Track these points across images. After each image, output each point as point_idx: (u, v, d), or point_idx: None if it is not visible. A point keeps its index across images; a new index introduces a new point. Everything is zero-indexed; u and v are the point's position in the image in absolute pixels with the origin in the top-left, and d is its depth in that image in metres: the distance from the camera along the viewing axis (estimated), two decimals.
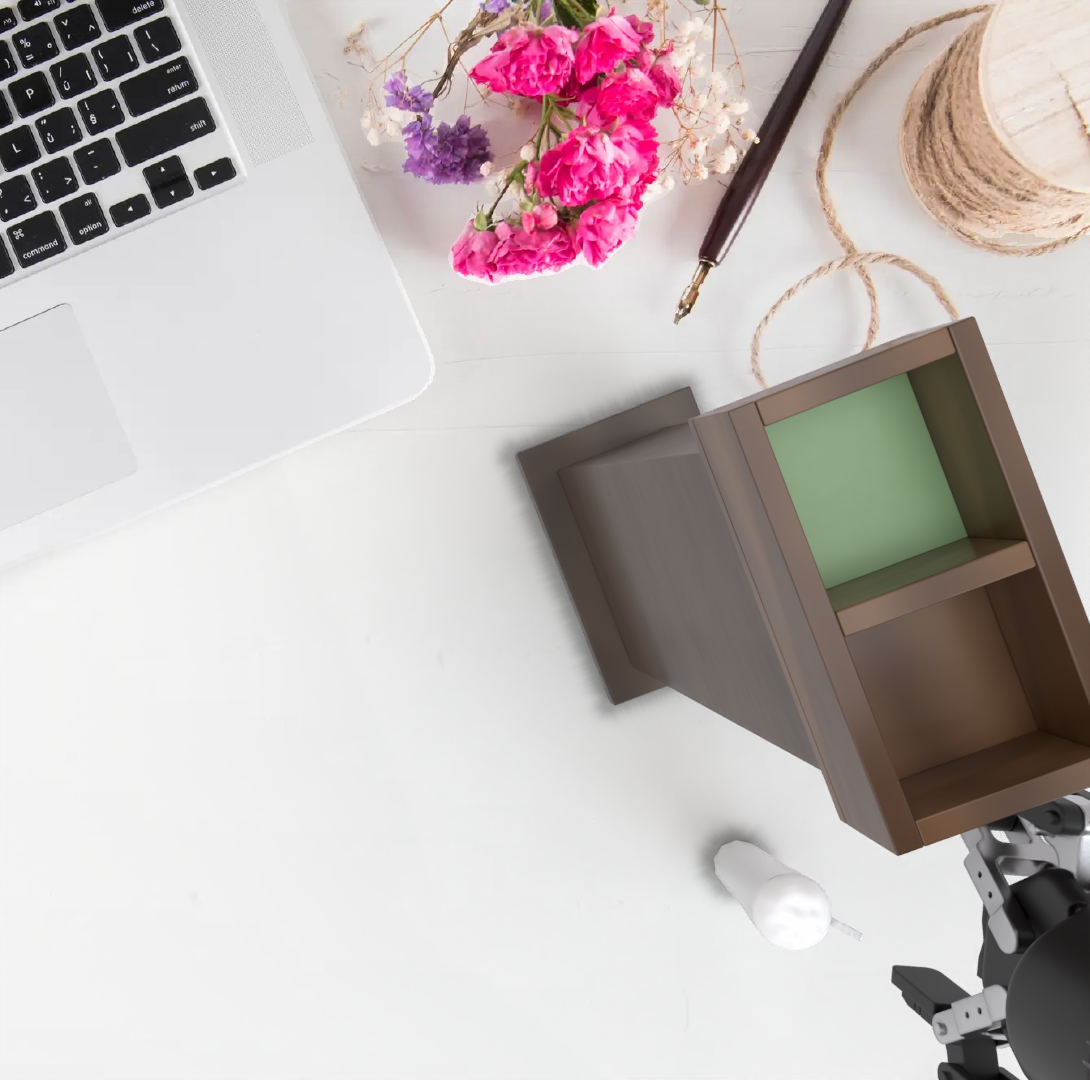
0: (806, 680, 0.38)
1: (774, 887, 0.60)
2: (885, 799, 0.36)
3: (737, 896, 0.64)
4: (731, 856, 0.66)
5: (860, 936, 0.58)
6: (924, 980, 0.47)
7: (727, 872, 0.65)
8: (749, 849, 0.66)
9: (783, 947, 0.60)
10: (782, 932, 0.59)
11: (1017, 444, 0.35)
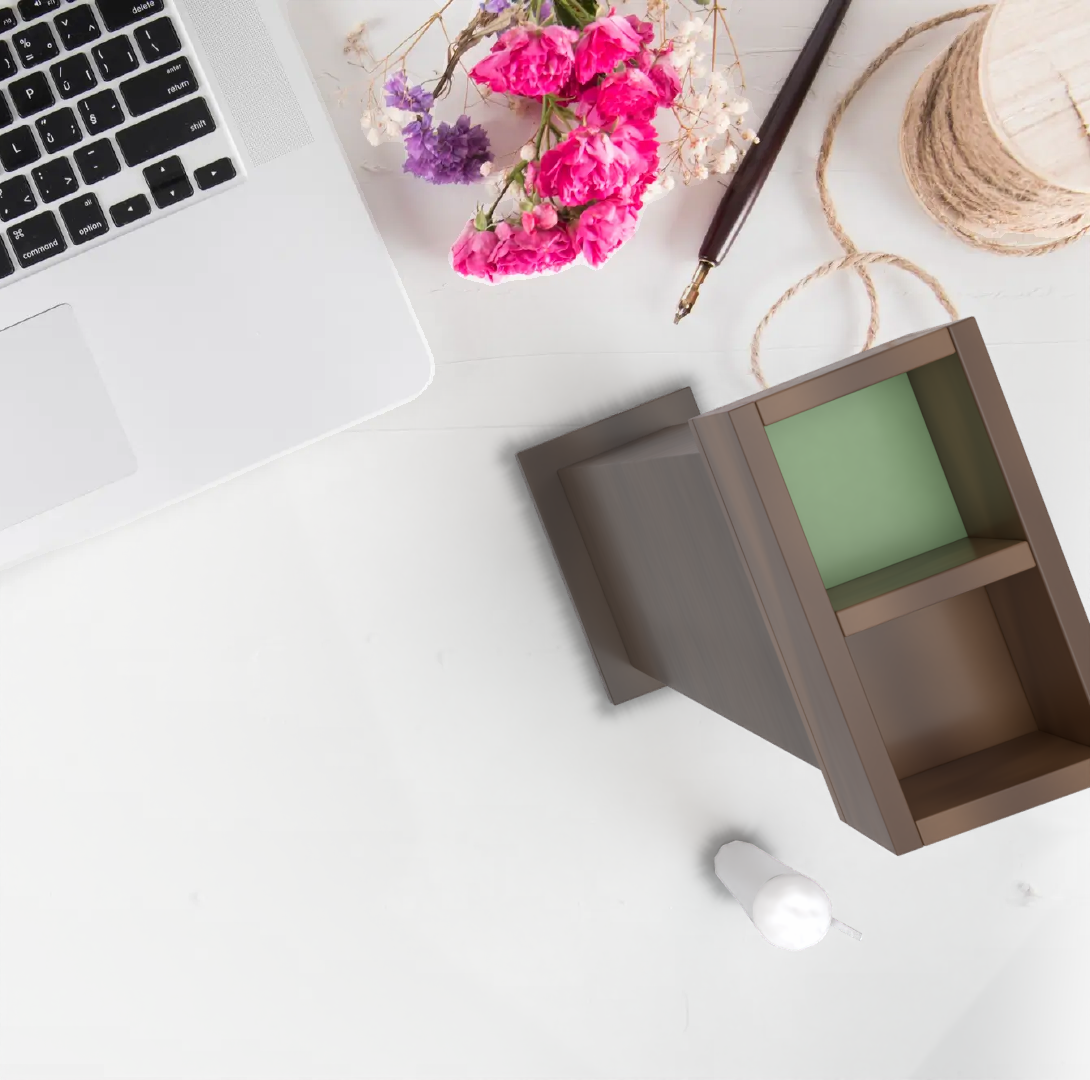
0: (806, 680, 0.38)
1: (774, 887, 0.60)
2: (885, 799, 0.36)
3: (737, 896, 0.64)
4: (731, 856, 0.66)
5: (860, 936, 0.58)
6: None
7: (727, 872, 0.65)
8: (749, 849, 0.66)
9: (783, 947, 0.60)
10: (782, 932, 0.59)
11: (1017, 444, 0.35)
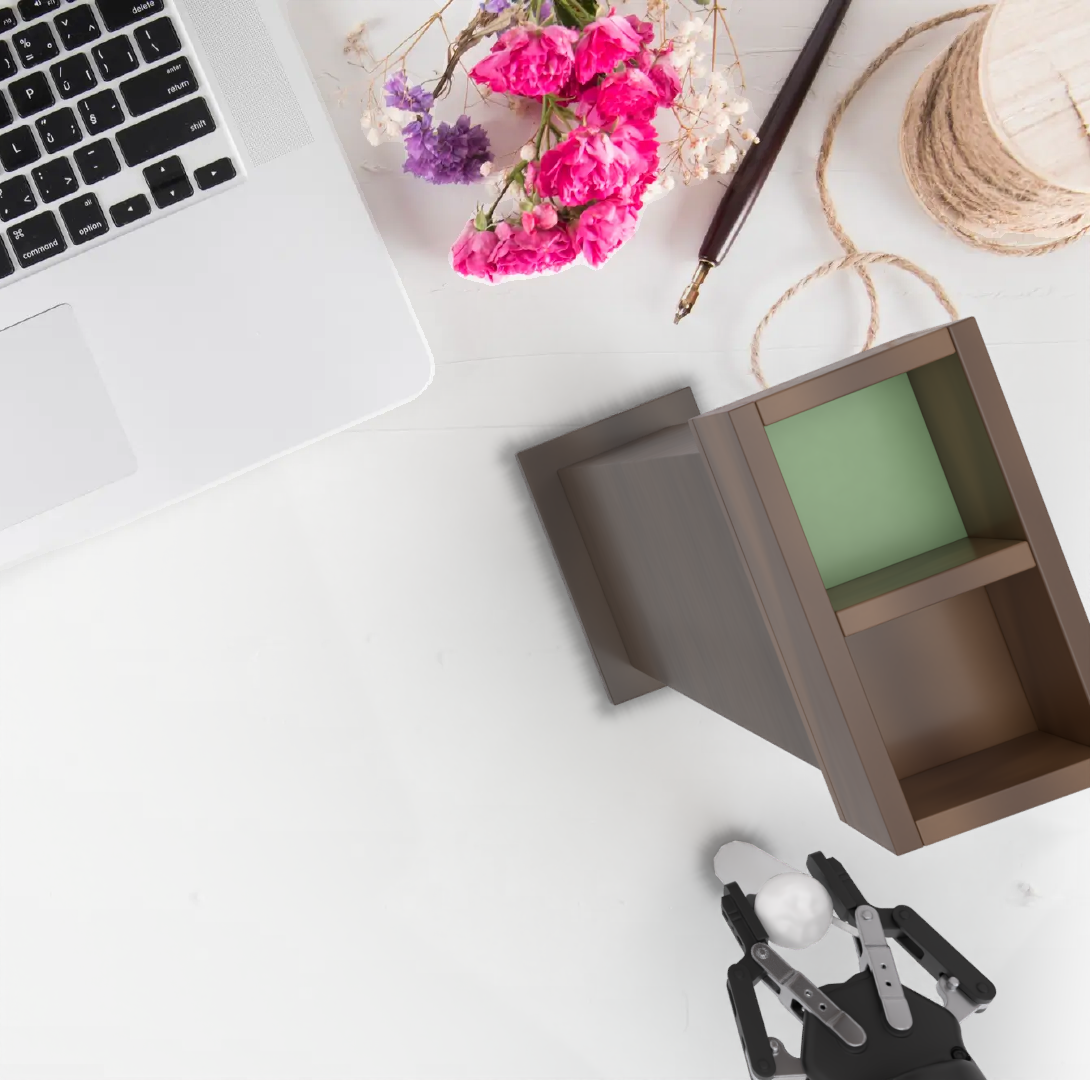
0: (806, 680, 0.38)
1: (775, 886, 0.60)
2: (885, 799, 0.36)
3: None
4: (731, 856, 0.66)
5: None
6: (821, 883, 0.61)
7: (727, 872, 0.65)
8: (749, 849, 0.66)
9: (785, 946, 0.60)
10: (783, 931, 0.59)
11: (1017, 444, 0.35)
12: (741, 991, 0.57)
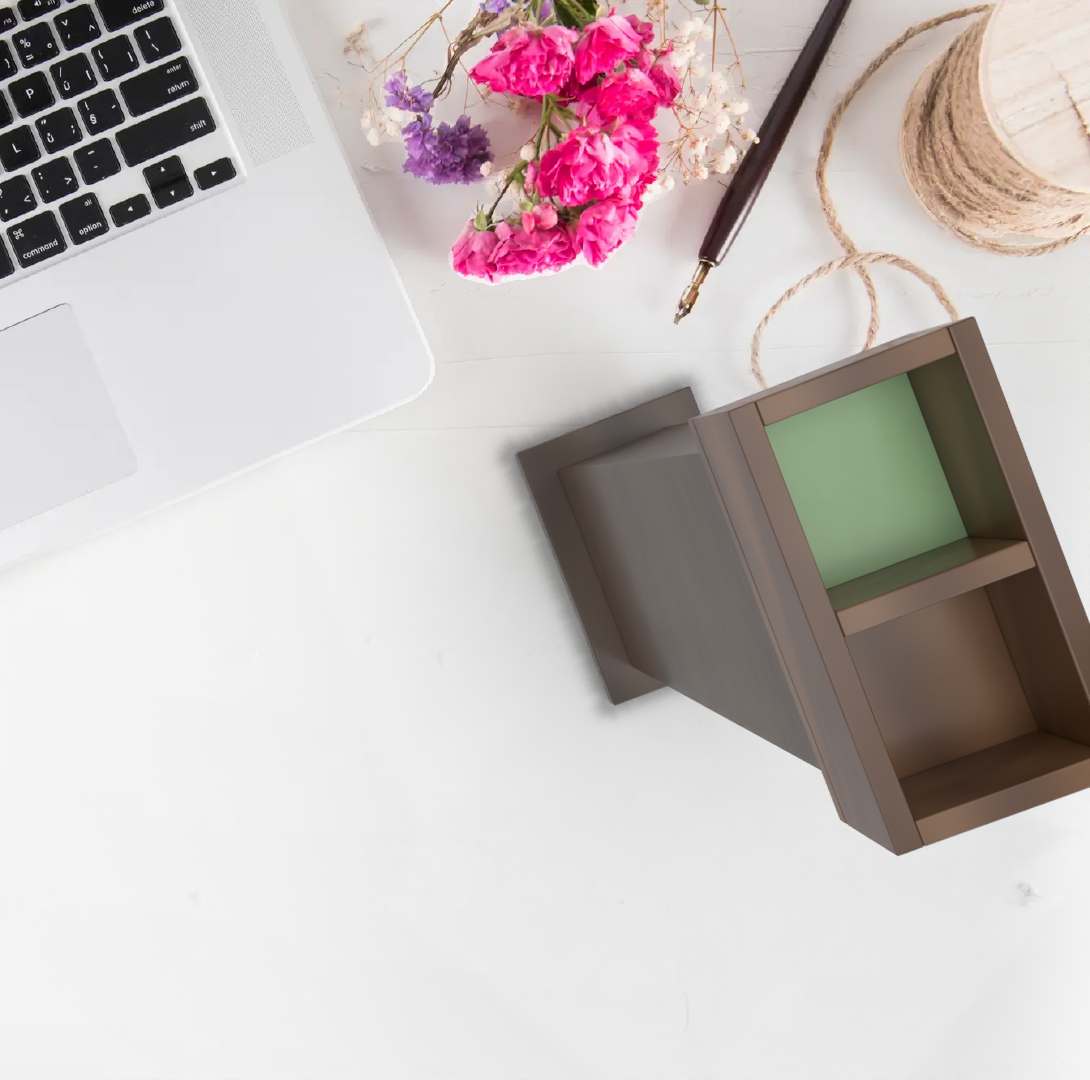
0: (806, 680, 0.38)
1: None
2: (885, 799, 0.36)
3: None
4: None
5: None
6: None
7: None
8: None
9: None
10: None
11: (1017, 444, 0.35)
12: None
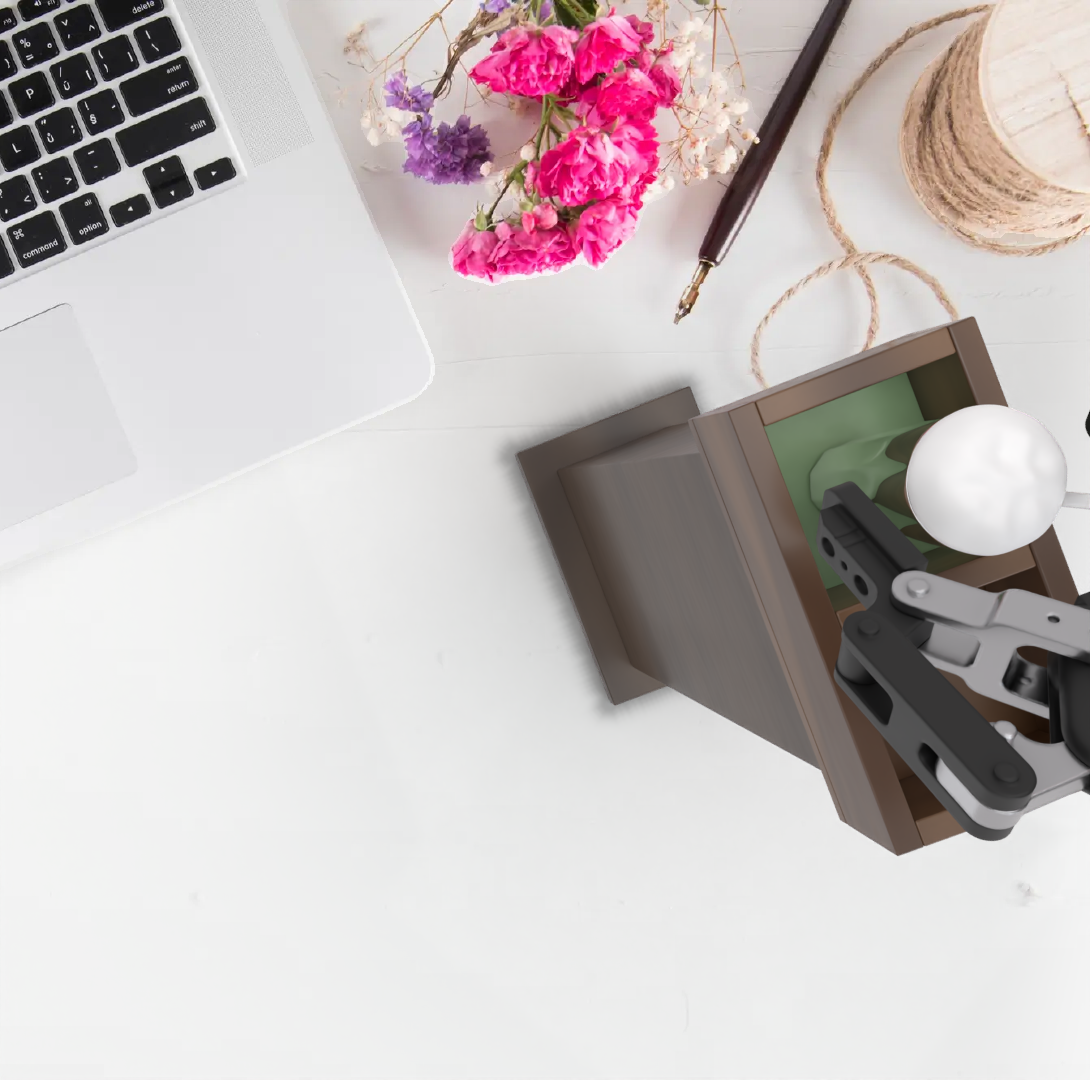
0: (806, 680, 0.38)
1: (957, 424, 0.30)
2: (885, 799, 0.36)
3: (865, 492, 0.34)
4: (848, 448, 0.37)
5: None
6: None
7: (841, 469, 0.36)
8: (882, 433, 0.36)
9: (968, 545, 0.30)
10: (971, 506, 0.30)
11: None
12: (888, 656, 0.27)
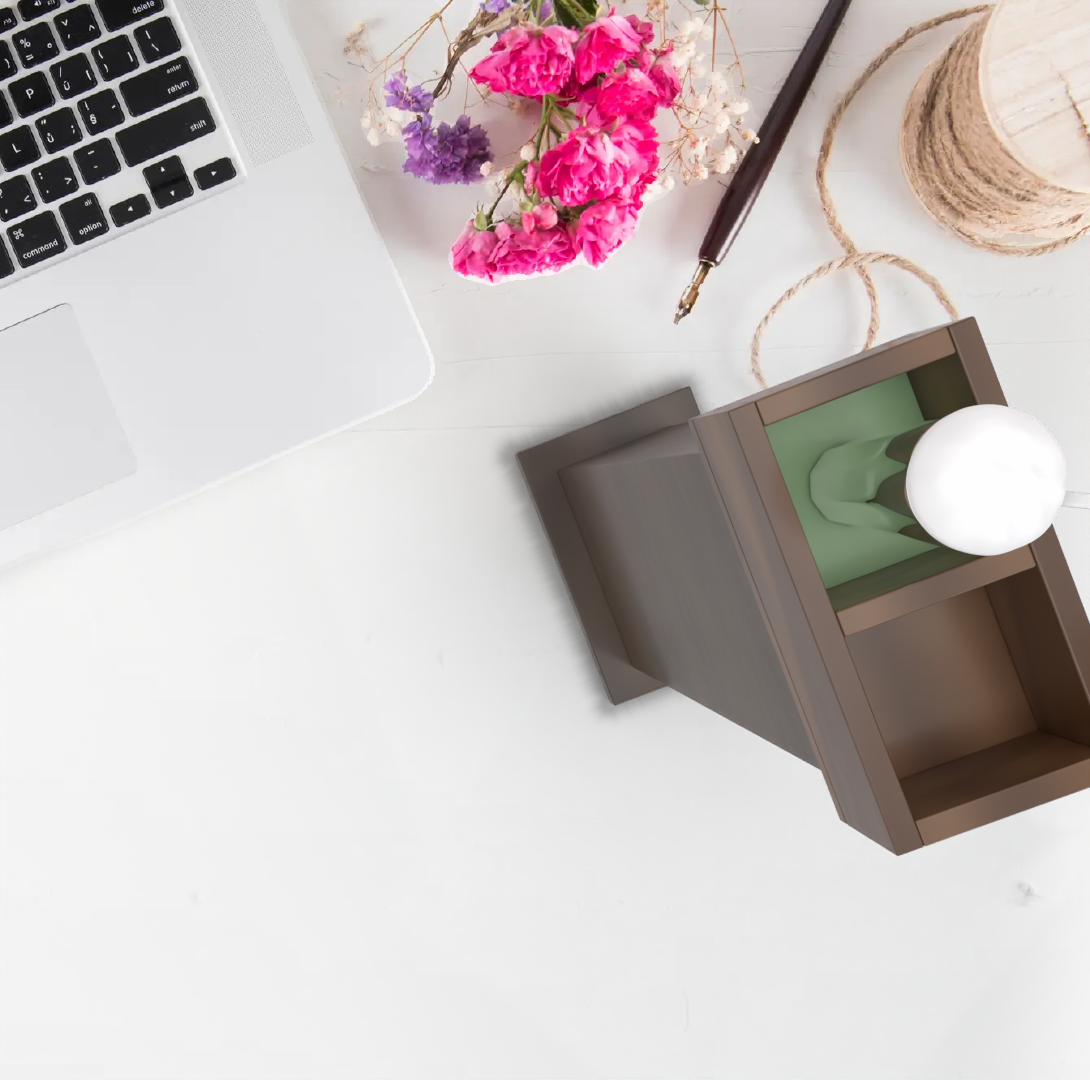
0: (806, 680, 0.38)
1: (957, 423, 0.30)
2: (885, 799, 0.36)
3: (865, 492, 0.34)
4: (848, 448, 0.37)
5: None
6: None
7: (841, 468, 0.36)
8: (882, 433, 0.36)
9: (968, 544, 0.30)
10: (971, 505, 0.30)
11: None
12: None
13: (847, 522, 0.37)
